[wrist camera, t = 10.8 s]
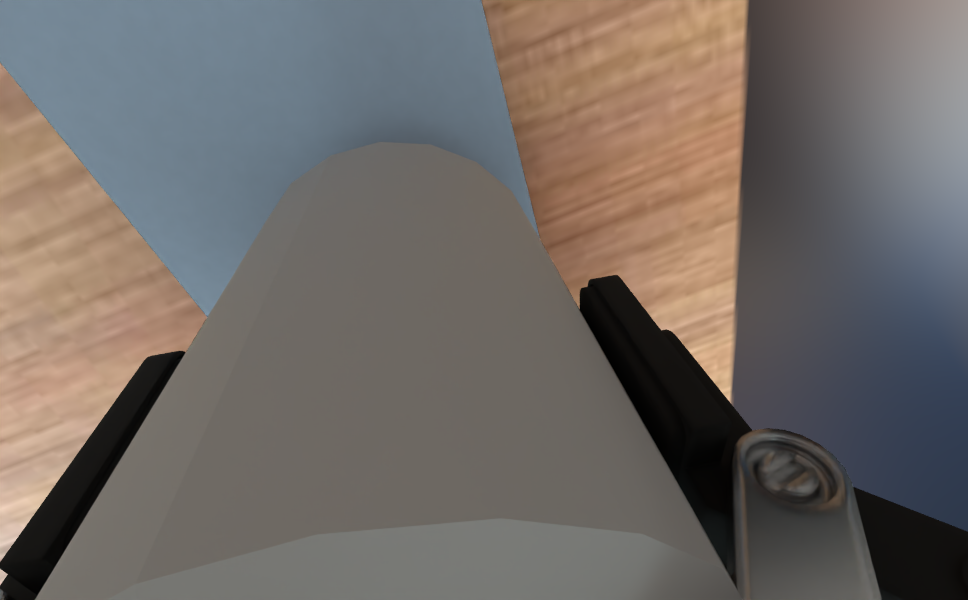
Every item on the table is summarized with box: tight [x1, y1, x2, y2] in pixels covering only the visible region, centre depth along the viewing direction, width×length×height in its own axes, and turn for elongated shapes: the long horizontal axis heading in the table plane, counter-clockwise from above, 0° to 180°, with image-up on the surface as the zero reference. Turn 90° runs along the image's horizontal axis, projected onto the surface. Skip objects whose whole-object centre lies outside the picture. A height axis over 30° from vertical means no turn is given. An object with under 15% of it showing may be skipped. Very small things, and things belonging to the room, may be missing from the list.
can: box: [35, 142, 743, 600], centre depth 8 cm, size 8×8×12 cm
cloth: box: [0, 0, 540, 317], centre depth 14 cm, size 18×12×1 cm, turn 17°
